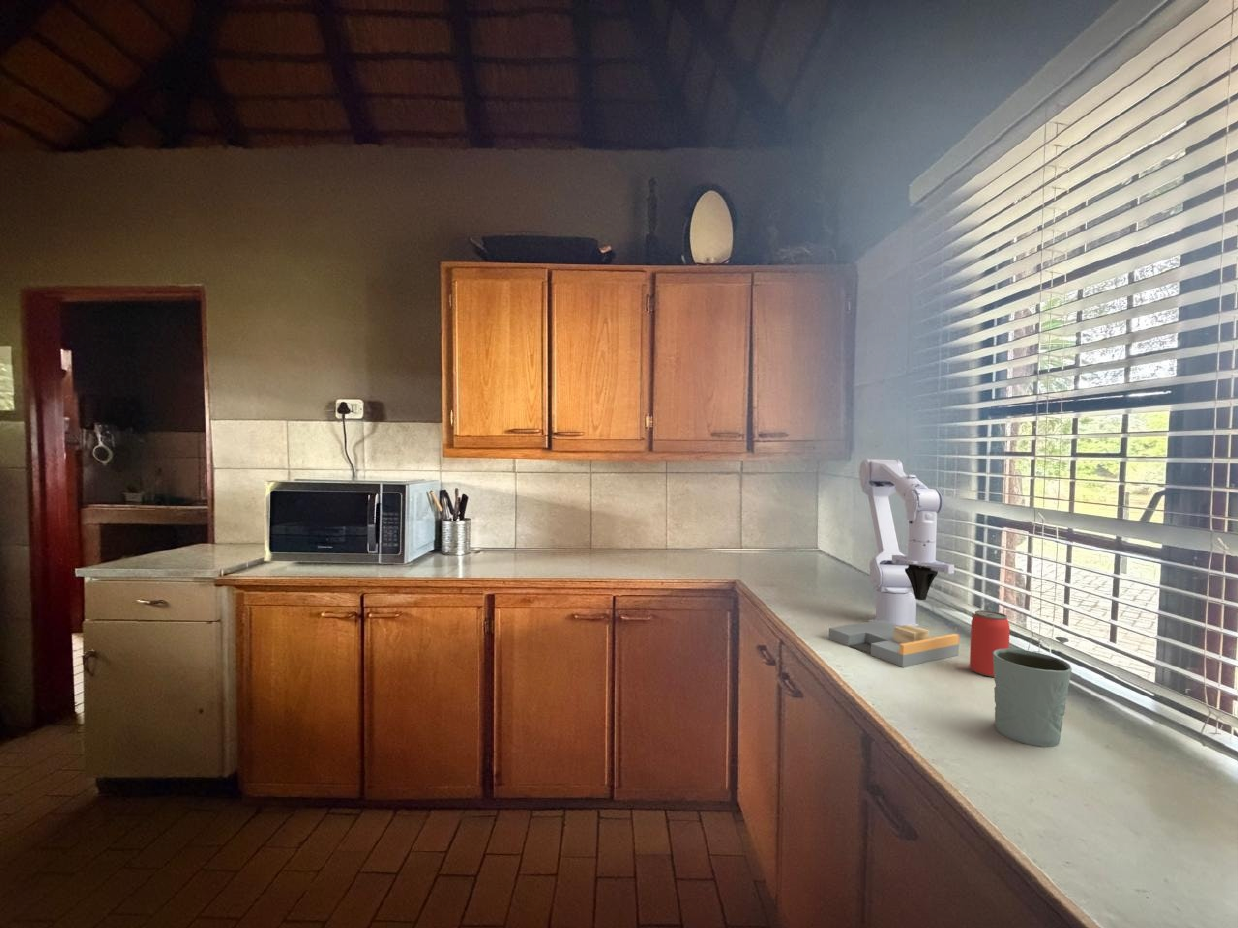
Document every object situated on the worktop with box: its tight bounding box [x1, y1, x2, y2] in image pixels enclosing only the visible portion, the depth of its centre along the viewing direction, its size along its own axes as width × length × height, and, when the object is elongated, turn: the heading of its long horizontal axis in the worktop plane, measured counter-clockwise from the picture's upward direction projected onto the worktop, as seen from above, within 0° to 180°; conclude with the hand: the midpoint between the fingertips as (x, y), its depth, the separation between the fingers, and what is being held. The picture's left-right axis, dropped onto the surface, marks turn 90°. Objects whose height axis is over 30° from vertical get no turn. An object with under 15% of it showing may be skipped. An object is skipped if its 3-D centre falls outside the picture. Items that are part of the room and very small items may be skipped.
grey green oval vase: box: [993, 648, 1073, 748], centre depth 94 cm, size 10×10×12 cm
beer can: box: [969, 609, 1011, 678], centre depth 121 cm, size 7×7×12 cm
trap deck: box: [828, 620, 960, 668], centre depth 135 cm, size 18×20×4 cm
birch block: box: [894, 625, 930, 644], centre depth 131 cm, size 5×5×3 cm
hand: (920, 599), depth 138 cm, fingers closed
